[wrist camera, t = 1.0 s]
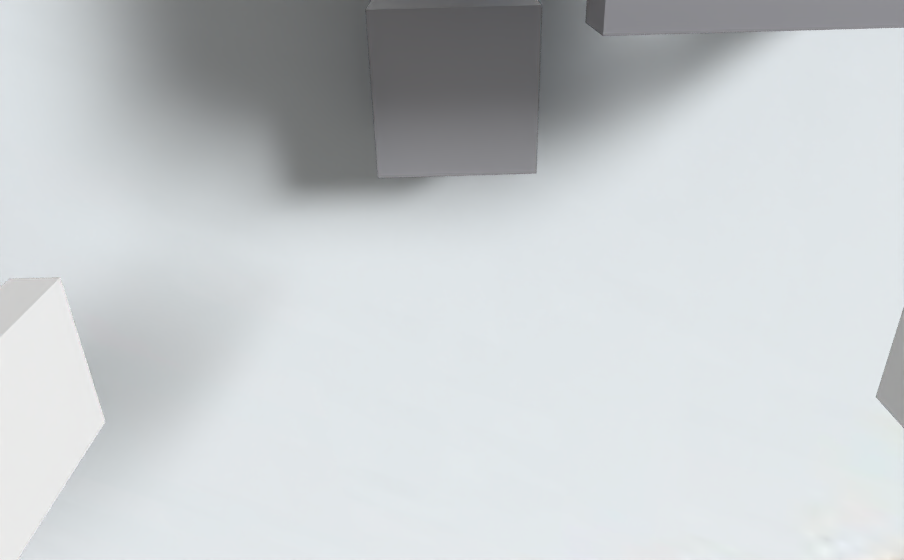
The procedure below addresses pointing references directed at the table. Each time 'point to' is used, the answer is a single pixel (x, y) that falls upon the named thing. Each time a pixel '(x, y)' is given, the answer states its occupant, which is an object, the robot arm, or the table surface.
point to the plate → (739, 15)
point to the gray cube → (454, 86)
